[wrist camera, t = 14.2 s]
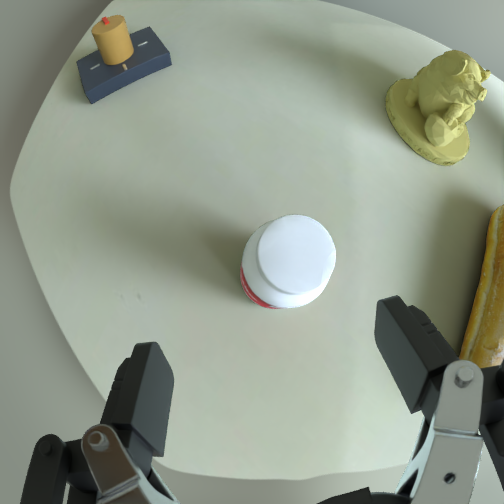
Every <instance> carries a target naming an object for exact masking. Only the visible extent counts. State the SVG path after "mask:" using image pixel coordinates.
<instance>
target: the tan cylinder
mask: <svg viewBox="0 0 504 504" xmlns="http://www.w3.org/2000/svg"><path fill="white" fill-rule="evenodd" d="M92 34H93V37H94V39H95V42H96V44H97V46H98V49H99V51H100V54H101V56H102V58H103V61H104V63H105V64H107V65H116V64H119V63H122V62H124V61H125V60H127V59H128V58H129V57H130V56H131V55H132V54H133V52H134V48H133V45H132V42H131V39H130V35H129V32H128V29H127V25H126V22H125V19H124V17H123V16H121V15H115V16H111V17H108V18H106V17H104V18H102V20H101V21H100V22H98V23H97V24H96V25H95V26H94V27H93V28H92Z"/></svg>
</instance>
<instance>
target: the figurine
mask: <svg viewBox="0 0 504 504" xmlns="http://www.w3.org/2000/svg"><path fill="white" fill-rule="evenodd" d="M490 74H491V73H490V71H489V70H486V71H485V70H484V69H483V68H482V67H481V66H480V65H479V64H478V63H477V62H476V61H475V60H474V59H473V58H471V57H470V56H469V55H468V54H466V53H463V52H461V51H457V50H452V51H447V52H445V53H444V54H443V55H440V56H438V57H436V58H434V59H433V60H432V61H431V62H430V64H429V65H428V66H426V67H423V68H422V69H421V70H420V71H419V72H418V73H417V75H416V76H415V77H414V78H413V79H401V80H398V81H396V82H395V83H394V85H392V86H391V87H390V88H389V90H388V92H387V95H386V111H387V114H388V117H389V119H390V121H391V123H392V125H393V127H394V128H395V130H396V131H397V132H398V134H399V135H400V136H401V137H402V139H403V140H404V141H405V142H406V143H407V144H408V145H409V146H410V147H411V148H412V149H413V150H414V151H415V152H416V153H418V154H419V155H421V156H422V157H424V158H425V159H427V160H429V161H431V162H433V163H435V164H439V165H444V166H449V165H453V164H455V163H457V162H458V161H460V160H462V159H463V158H464V156H465V155H466V154H467V152H468V150H469V145H470V139H469V135H468V131H467V127H466V124H465V123H466V122H467V121H468V120H470V119H471V118H472V115H473V114H474V111H475V106H474V103H475V102H476V101H477V100H480V101H481V102H482V101H483V100H484V98H485V96H486V93H487V90H486V89H485V88H483V87H482V86H481V84H480V83H482V82H483V81H485V80H486V79H488V78H489V76H490Z"/></svg>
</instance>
